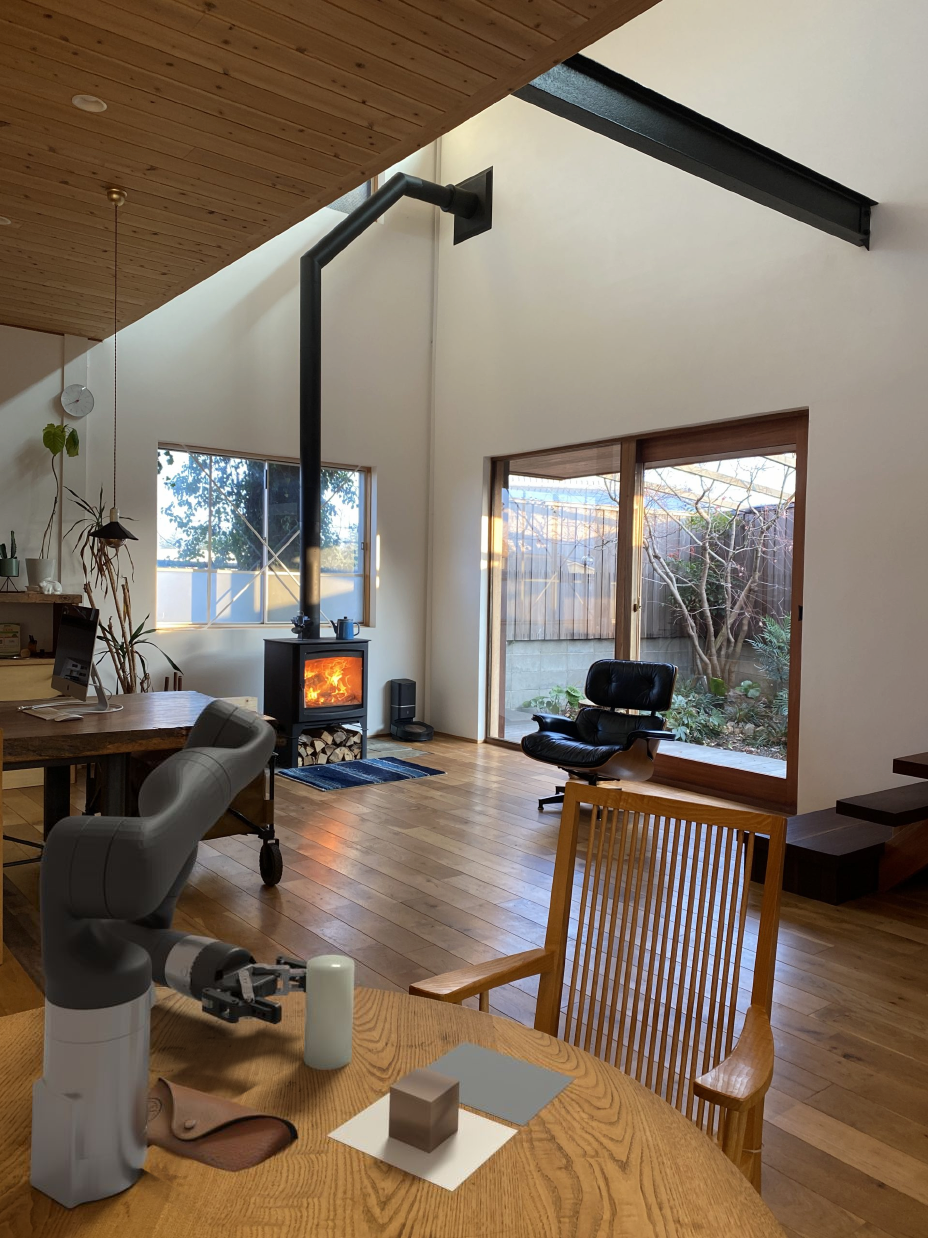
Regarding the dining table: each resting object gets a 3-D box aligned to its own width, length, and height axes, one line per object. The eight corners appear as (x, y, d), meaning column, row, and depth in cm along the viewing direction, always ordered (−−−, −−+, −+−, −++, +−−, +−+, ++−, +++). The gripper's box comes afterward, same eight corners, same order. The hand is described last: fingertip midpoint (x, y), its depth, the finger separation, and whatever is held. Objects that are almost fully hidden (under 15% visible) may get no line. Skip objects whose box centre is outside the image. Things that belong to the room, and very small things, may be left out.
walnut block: (429, 1154, 89) (431, 1102, 89) (388, 1136, 92) (389, 1086, 92) (458, 1130, 93) (459, 1081, 93) (417, 1114, 96) (419, 1066, 96)
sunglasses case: (98, 1142, 91) (125, 1069, 94) (142, 1146, 97) (166, 1077, 100) (246, 1196, 84) (271, 1114, 87) (284, 1197, 89) (306, 1121, 92)
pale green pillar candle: (329, 1083, 104) (333, 976, 104) (293, 1069, 107) (296, 965, 107) (360, 1064, 108) (364, 962, 108) (325, 1051, 111) (328, 951, 111)
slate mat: (522, 1136, 95) (523, 1126, 95) (405, 1090, 103) (405, 1082, 103) (574, 1087, 105) (575, 1078, 105) (464, 1049, 113) (464, 1041, 113)
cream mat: (451, 1202, 84) (452, 1191, 84) (326, 1145, 92) (326, 1135, 92) (517, 1141, 94) (518, 1131, 94) (399, 1094, 102) (399, 1085, 102)
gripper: (249, 981, 125) (342, 1012, 116) (164, 1020, 113) (261, 1057, 104) (250, 926, 125) (343, 952, 116) (165, 959, 113) (262, 991, 104)
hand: (304, 1002), depth 110 cm, fingers open, 8 cm apart
